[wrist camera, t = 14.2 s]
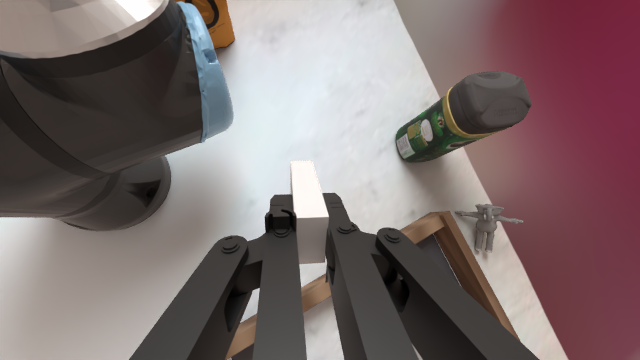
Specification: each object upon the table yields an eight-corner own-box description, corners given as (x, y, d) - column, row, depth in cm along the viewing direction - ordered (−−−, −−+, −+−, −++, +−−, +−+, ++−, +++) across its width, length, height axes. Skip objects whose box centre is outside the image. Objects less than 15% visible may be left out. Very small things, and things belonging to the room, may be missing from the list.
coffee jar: (431, 122, 47) (526, 59, 28) (442, 158, 45) (548, 117, 27) (389, 128, 45) (462, 65, 27) (399, 166, 43) (483, 128, 25)
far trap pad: (448, 349, 39) (450, 350, 38) (396, 248, 40) (397, 248, 40) (479, 325, 40) (481, 325, 40) (428, 229, 42) (429, 229, 42)
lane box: (292, 496, 31) (294, 547, 27) (222, 333, 34) (212, 352, 29) (494, 332, 41) (523, 347, 36) (430, 212, 43) (449, 211, 38)
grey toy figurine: (451, 250, 42) (456, 204, 41) (452, 238, 47) (456, 196, 46) (521, 265, 37) (530, 213, 36) (514, 249, 42) (521, 203, 41)
